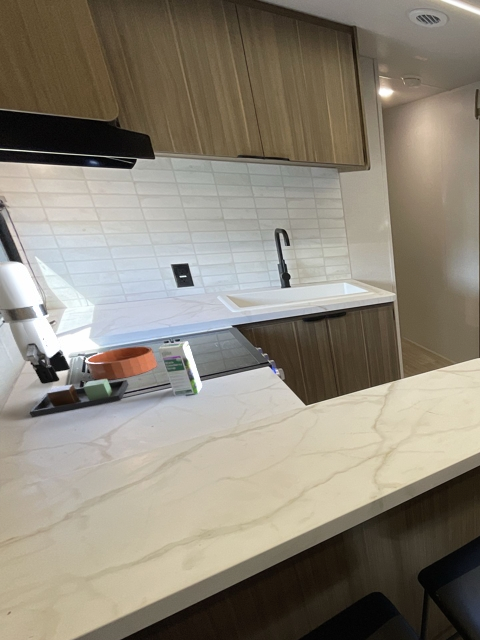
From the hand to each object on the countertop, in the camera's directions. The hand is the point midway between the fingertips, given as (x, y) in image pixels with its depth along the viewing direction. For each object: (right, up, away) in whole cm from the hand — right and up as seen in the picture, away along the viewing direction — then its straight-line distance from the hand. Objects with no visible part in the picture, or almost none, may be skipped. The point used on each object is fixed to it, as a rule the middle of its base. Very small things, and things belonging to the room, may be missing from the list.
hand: (56, 376), depth 107 cm
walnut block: (0, -7, +3) cm, 8 cm away
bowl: (-5, +1, +25) cm, 25 cm away
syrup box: (+28, -5, +10) cm, 30 cm away
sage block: (+5, -6, +6) cm, 10 cm away
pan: (+3, -7, +5) cm, 9 cm away
